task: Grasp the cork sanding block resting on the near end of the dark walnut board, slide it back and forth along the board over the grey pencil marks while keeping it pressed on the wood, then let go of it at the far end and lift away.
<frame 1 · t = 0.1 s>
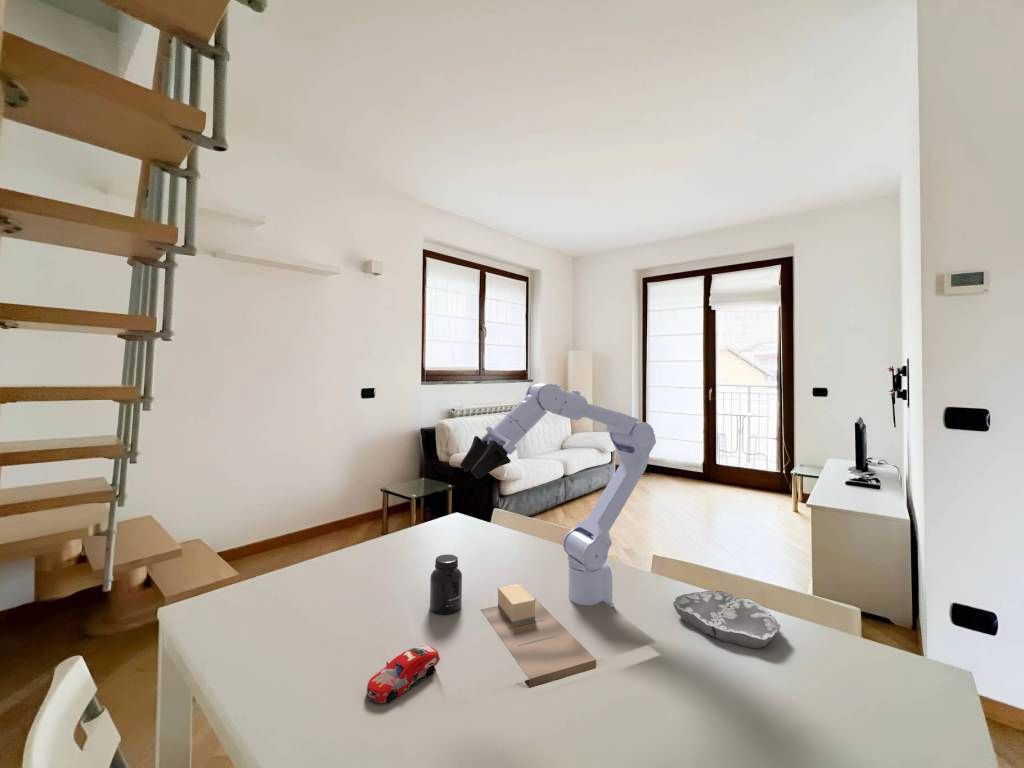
hand: (468, 471, 89), 32 cm above the table, tool tilted 50°, fingers open, 7 cm apart
race car: (404, 683, 74), on the table
brain slice: (726, 625, 92), on the table
board: (532, 639, 86), on the table
sanding block: (515, 612, 93), point 1 cm above the table, touching board
supplement bottle: (445, 614, 95), on the table
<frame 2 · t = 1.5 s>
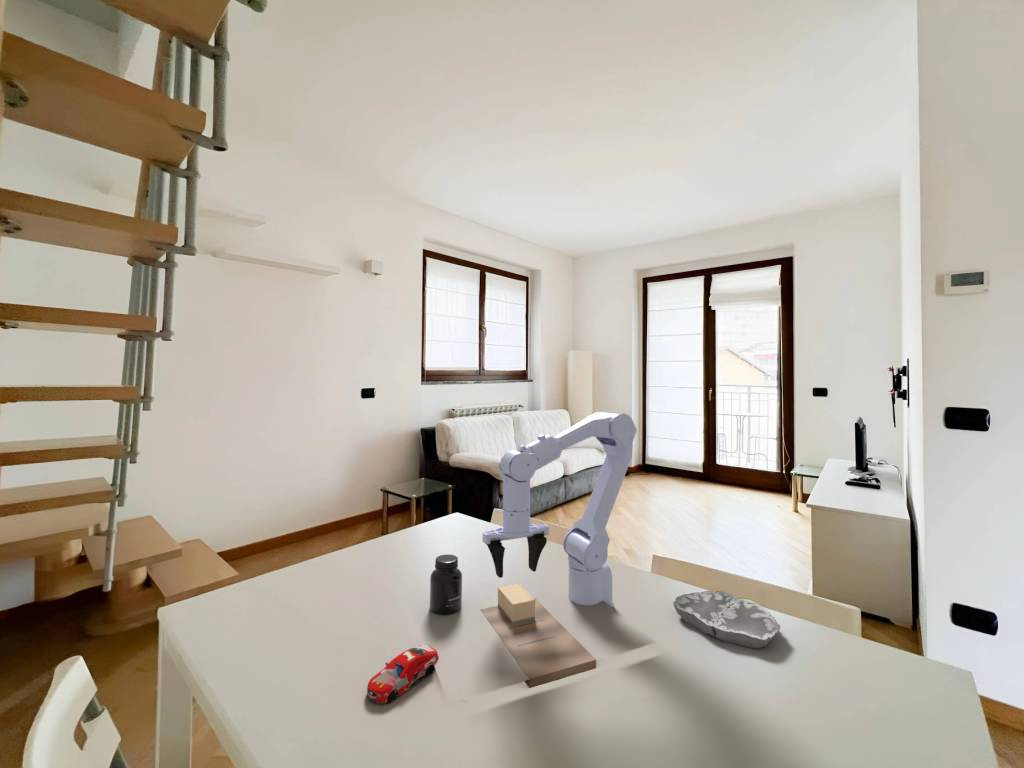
hand: (516, 572, 93), 10 cm above the table, tool pointing down, fingers open, 7 cm apart
nothing on the table moved.
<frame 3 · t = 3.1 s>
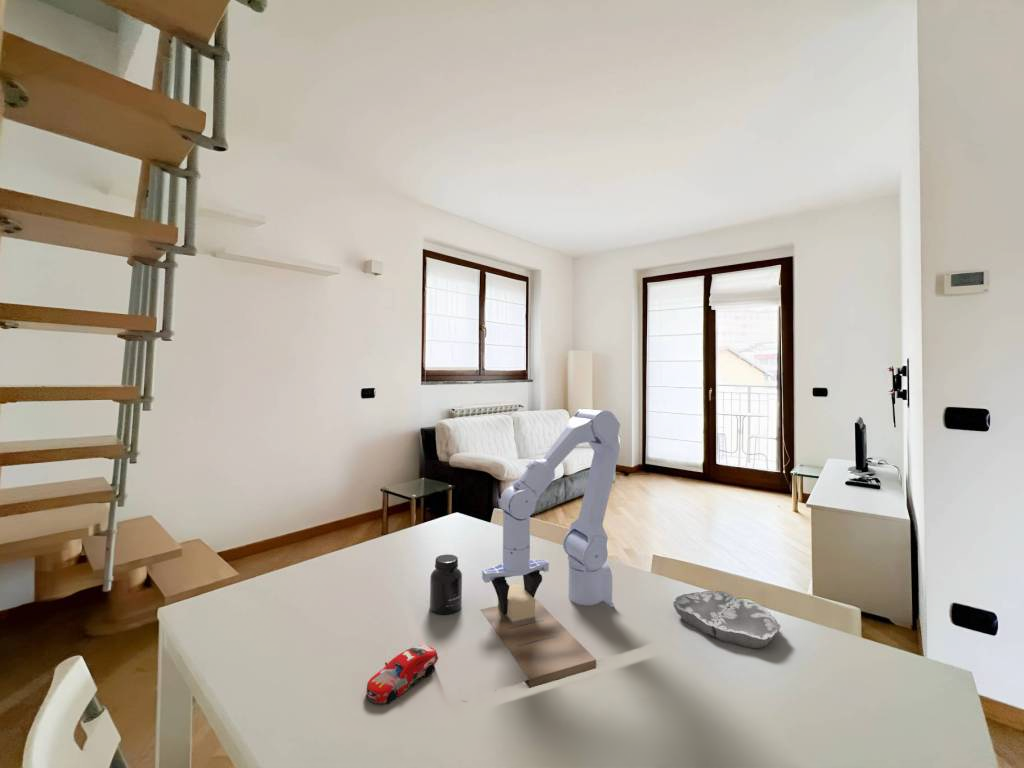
hand: (515, 609, 93), 2 cm above the table, tool pointing down, fingers closed on sanding block, 5 cm apart
sanding block: (515, 612, 93), point 1 cm above the table, touching board, gripper
everything else where it was.
when the fingers open (2 cm above the table, at t = 13.1 s): sanding block stays where it is, resting on board.
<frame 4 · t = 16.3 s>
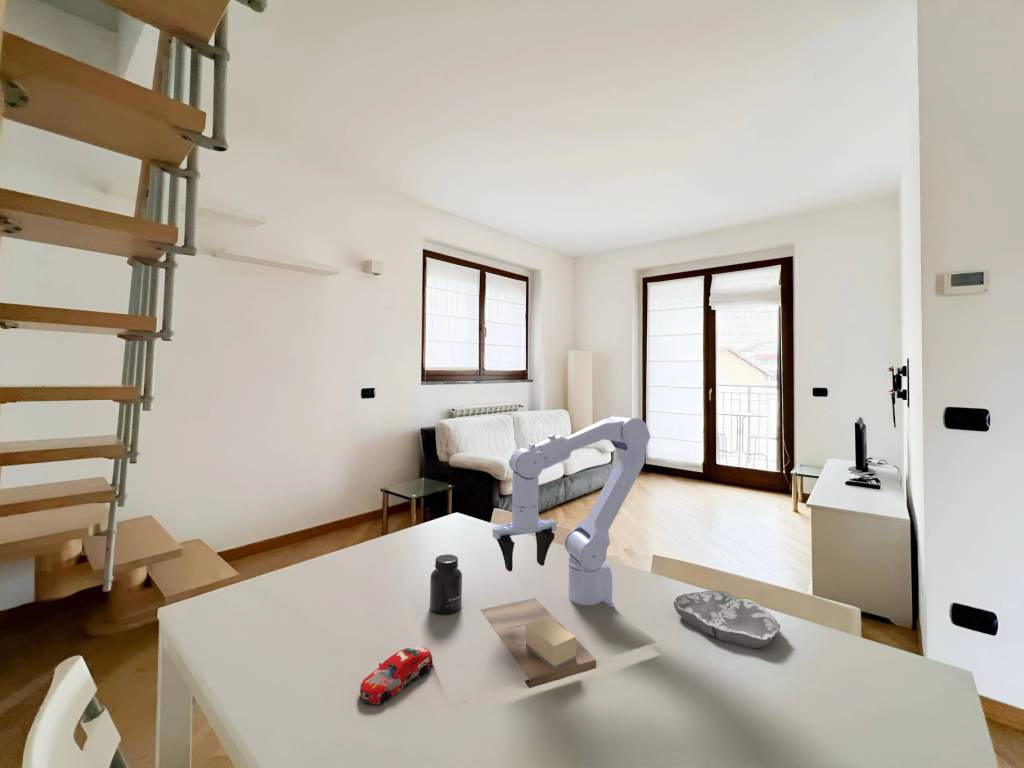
hand: (524, 566, 96), 10 cm above the table, tool pointing down, fingers open, 7 cm apart
sanding block: (550, 652, 79), point 2 cm above the table, touching board
at the end: sanding block inside the target area (0.1 cm from its centre), point 1.5 cm above the table; sanding block tilted 0°; the gripper is holding nothing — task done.
